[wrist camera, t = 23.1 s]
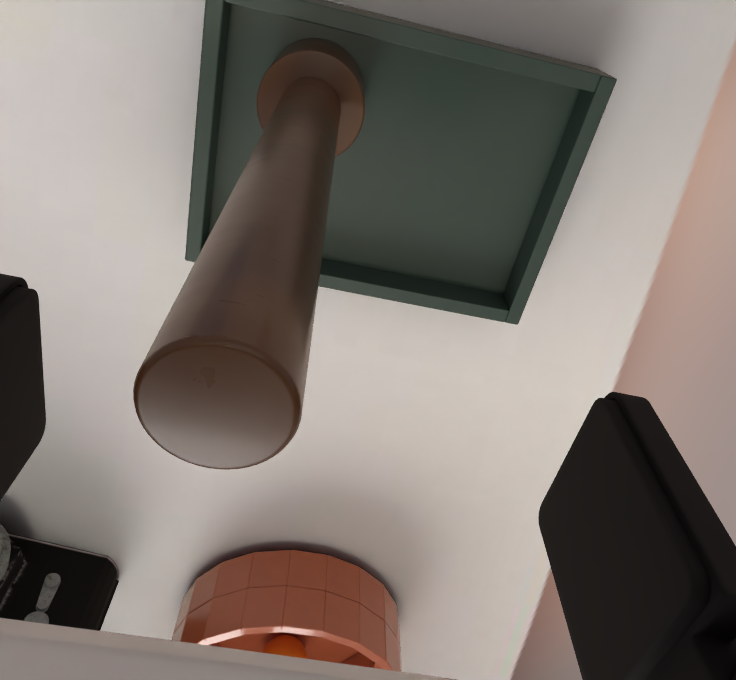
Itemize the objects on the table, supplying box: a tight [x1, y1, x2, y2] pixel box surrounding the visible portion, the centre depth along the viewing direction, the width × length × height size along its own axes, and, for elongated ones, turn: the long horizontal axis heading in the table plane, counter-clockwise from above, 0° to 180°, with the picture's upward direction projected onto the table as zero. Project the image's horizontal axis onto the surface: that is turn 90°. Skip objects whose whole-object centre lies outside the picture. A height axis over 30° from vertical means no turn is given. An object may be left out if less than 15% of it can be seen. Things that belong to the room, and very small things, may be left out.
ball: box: [262, 635, 308, 659], centre depth 40 cm, size 3×3×3 cm
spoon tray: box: [185, 0, 617, 324], centre depth 25 cm, size 14×10×2 cm
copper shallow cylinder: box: [172, 550, 402, 672], centre depth 39 cm, size 14×14×6 cm
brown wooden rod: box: [133, 38, 365, 469], centre depth 16 cm, size 4×4×19 cm
